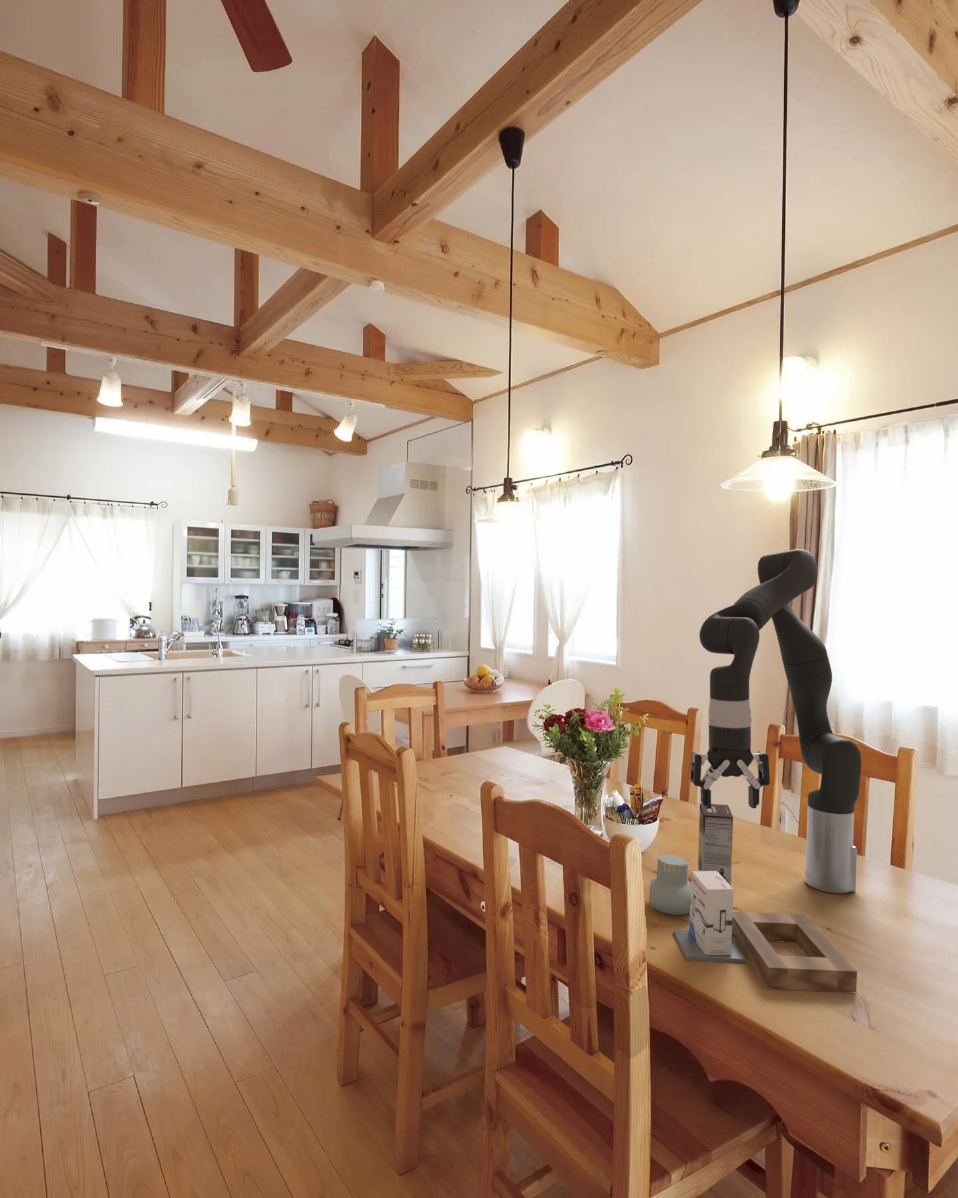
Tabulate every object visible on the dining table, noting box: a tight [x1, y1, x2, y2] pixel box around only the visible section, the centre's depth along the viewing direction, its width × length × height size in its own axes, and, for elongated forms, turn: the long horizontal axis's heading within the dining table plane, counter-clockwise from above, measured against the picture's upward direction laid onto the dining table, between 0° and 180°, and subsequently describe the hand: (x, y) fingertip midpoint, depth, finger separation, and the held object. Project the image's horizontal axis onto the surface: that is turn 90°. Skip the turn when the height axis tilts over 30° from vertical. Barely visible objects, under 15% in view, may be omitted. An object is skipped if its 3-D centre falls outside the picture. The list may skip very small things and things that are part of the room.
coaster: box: [672, 928, 746, 964], centre depth 127 cm, size 10×10×1 cm
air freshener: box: [648, 854, 692, 916], centre depth 142 cm, size 11×8×10 cm
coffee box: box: [697, 802, 734, 887], centre depth 156 cm, size 9×6×16 cm
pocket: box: [732, 911, 858, 993], centre depth 123 cm, size 14×20×4 cm
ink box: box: [688, 870, 735, 955], centre depth 127 cm, size 9×5×12 cm, turn 3°
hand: (729, 807), depth 133 cm, fingers open, 8 cm apart
